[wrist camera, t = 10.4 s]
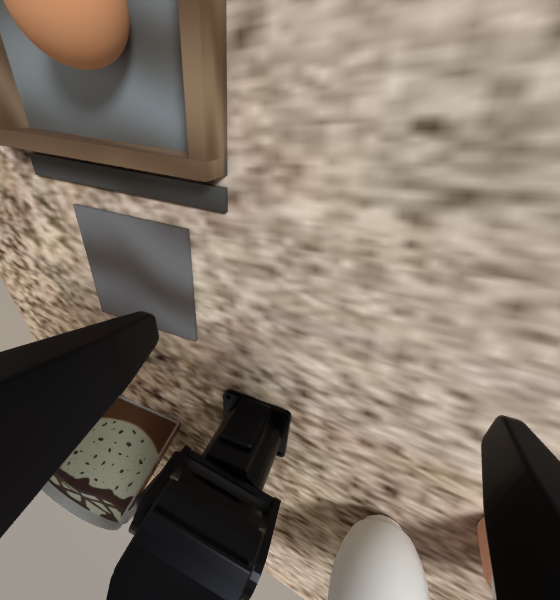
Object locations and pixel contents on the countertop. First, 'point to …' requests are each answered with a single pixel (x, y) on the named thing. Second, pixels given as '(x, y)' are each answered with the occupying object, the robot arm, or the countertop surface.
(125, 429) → the food container
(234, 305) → the countertop surface
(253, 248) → the countertop surface
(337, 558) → the sauce bottle
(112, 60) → the ball
